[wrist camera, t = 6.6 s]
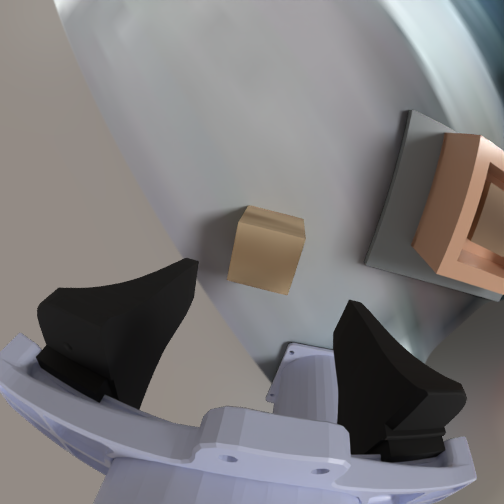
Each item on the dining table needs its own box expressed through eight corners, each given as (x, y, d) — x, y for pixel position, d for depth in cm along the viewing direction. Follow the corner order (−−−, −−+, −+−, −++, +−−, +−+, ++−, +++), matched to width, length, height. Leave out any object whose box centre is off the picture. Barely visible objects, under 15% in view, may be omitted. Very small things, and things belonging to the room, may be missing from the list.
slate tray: (495, 298, 19) (498, 301, 19) (364, 261, 20) (365, 265, 19) (537, 191, 14) (540, 193, 14) (409, 110, 15) (412, 109, 14)
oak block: (288, 267, 21) (287, 295, 17) (238, 254, 21) (226, 280, 18) (303, 218, 19) (305, 238, 16) (248, 204, 20) (238, 221, 16)
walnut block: (476, 236, 16) (503, 257, 13) (443, 221, 16) (470, 241, 13) (491, 191, 15) (522, 205, 11) (459, 171, 15) (491, 182, 11)
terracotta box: (504, 278, 18) (529, 303, 13) (410, 245, 18) (436, 273, 14) (535, 194, 14) (566, 208, 10) (444, 132, 14) (481, 135, 10)
